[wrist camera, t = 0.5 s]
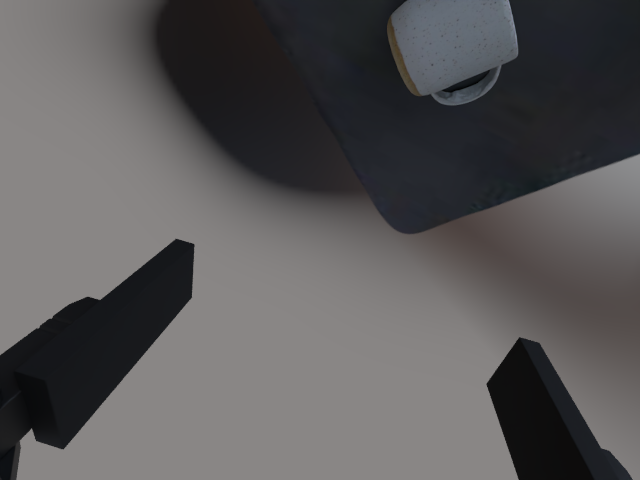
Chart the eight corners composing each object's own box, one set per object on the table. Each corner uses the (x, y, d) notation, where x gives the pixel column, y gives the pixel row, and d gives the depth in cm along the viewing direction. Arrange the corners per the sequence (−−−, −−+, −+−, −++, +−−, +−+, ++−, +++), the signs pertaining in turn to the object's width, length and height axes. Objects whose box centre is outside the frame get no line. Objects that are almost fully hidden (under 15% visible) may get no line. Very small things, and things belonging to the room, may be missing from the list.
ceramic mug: (383, 9, 29) (377, 30, 23) (484, -60, 25) (503, -53, 19) (429, 114, 34) (432, 151, 29) (518, 71, 30) (540, 106, 25)
